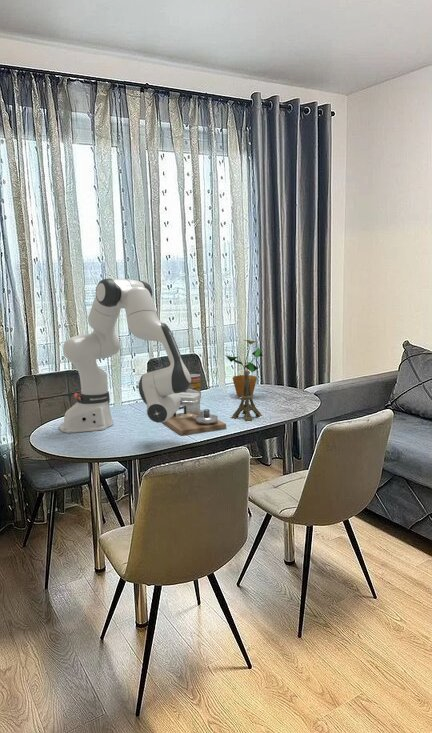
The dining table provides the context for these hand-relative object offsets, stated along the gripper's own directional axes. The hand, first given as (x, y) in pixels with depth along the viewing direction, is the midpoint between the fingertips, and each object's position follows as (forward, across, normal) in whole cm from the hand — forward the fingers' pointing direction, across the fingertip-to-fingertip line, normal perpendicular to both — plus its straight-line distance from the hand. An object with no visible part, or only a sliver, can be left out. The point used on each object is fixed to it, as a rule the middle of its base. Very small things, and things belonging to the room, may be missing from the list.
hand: (178, 393), depth 224 cm
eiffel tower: (+29, -24, +17) cm, 41 cm away
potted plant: (+68, -18, +17) cm, 72 cm away
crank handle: (+15, -5, +15) cm, 21 cm away
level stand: (+15, -2, +17) cm, 23 cm away
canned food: (+60, +8, +18) cm, 64 cm away
